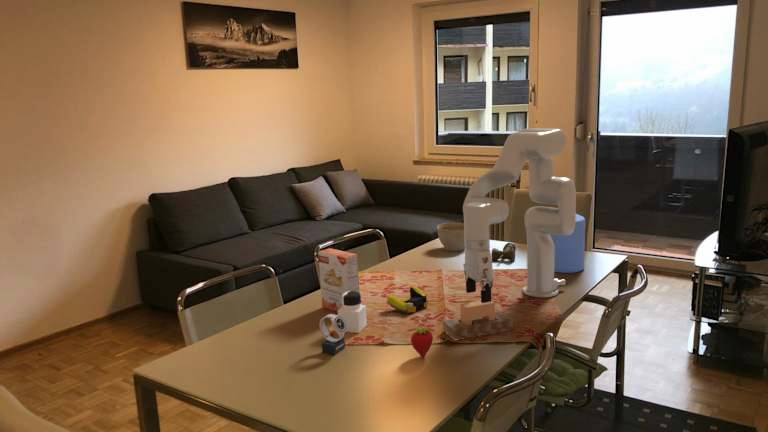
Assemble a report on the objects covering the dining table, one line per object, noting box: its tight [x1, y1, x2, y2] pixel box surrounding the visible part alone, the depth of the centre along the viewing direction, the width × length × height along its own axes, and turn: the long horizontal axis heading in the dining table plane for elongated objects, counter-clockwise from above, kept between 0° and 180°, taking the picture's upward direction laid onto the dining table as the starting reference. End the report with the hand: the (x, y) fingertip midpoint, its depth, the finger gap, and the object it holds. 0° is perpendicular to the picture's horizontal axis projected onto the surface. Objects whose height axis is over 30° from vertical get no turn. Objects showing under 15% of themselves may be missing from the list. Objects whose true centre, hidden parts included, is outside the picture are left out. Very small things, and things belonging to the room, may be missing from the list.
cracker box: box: [317, 247, 360, 313], centre depth 214 cm, size 14×6×21 cm, turn 47°
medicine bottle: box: [337, 291, 368, 334], centre depth 198 cm, size 7×7×12 cm
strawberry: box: [410, 326, 434, 358], centre depth 175 cm, size 6×8×10 cm
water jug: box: [550, 213, 586, 274], centre depth 249 cm, size 16×16×28 cm
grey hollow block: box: [442, 310, 514, 339], centre depth 192 cm, size 20×8×4 cm, turn 109°
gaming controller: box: [386, 286, 430, 314], centre depth 215 cm, size 15×6×10 cm
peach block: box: [460, 300, 496, 326], centre depth 192 cm, size 10×4×9 cm, turn 109°
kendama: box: [490, 242, 517, 263], centre depth 269 cm, size 6×10×20 cm
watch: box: [319, 313, 347, 356], centre depth 182 cm, size 6×8×11 cm
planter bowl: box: [436, 222, 466, 252], centre depth 287 cm, size 16×16×11 cm
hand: (478, 296), depth 191 cm, fingers open, 9 cm apart
